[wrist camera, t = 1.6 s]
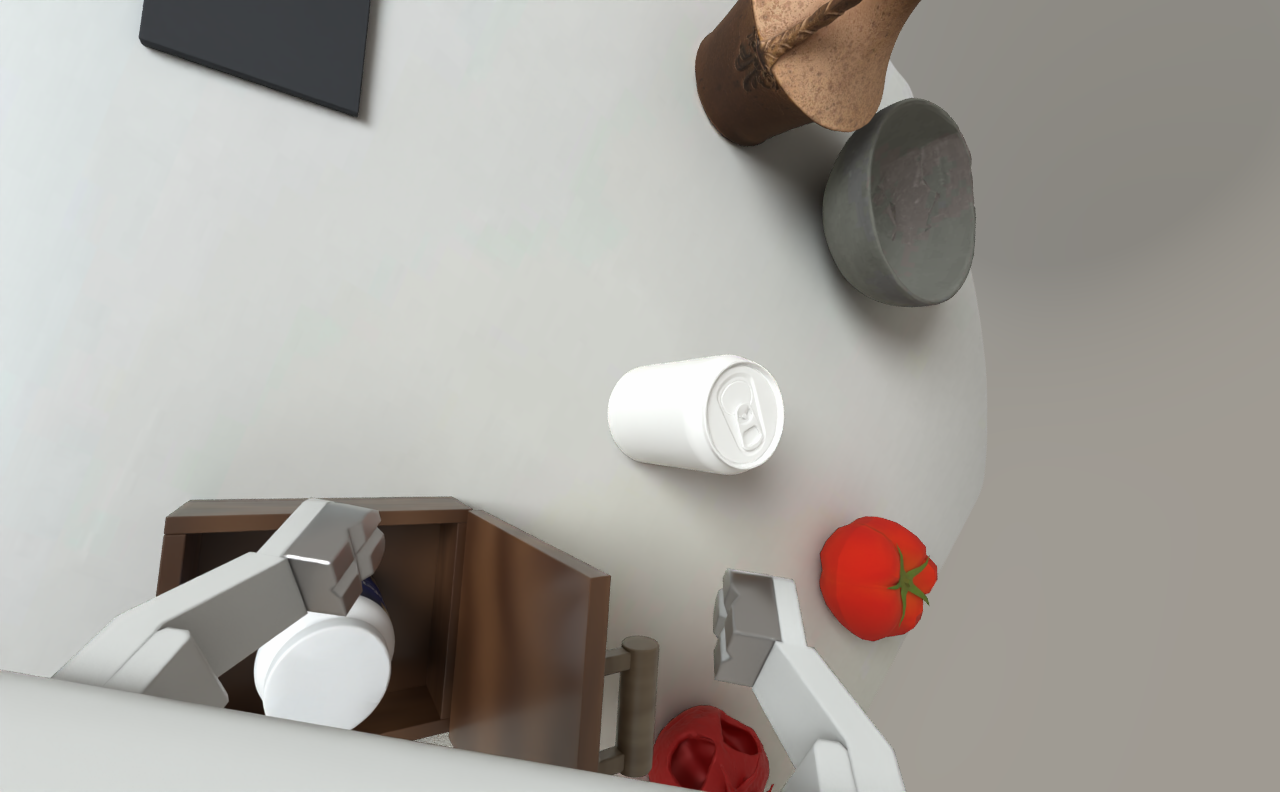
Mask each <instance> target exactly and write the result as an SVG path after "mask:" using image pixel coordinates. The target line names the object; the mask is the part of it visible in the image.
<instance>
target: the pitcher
mask: <svg viewBox="0 0 1280 792" xmlns="http://www.w3.org/2000/svg"><path fill="white" fill-rule="evenodd" d="M920 1H921V0H738V1H737V3H736V4H735V5H734V7H733V8H732V9H731V10H730V12H729V13H728V14H727V15H726V17H725V18H724V19H723V20H722V21H721V22H720V24H719V25H718V26H717V27H716V28H715V29H714V30H713V32H711V33H710V34H709V35H707V36H706V37H705V38H704V40H703V41H702V42H701V44H700V46H699V49H698V51H697V56H696V61H695V72H696V81H697V89H698V94H699V96H700V99H701V102H702V105H703V107H704V109H705V111H706V113H707V115H708V117H709V118H710V120H711V121H712V123H713V125H714V126H715V127H716V128H717V129H718V130H719V131H720V132H721V133H722V134H723V135H724V136H725V137H726V138H727V139H729V140H730V141H732V142H733V143H736V144H738V145H740V146H747V147H748V146H756V145H759V144H761V143H763V142H764V141H765V140H767V139H769V138H771V137H773V136H776V135H778V134H781V133H783V132H786V131H789V130H791V129H794V128H797V127H800V126H803V125H806V124H809V123H812V122H815V123H817V124H819V125H820V126H822V127H824V128H826V129H829V130H833V131H841V132H852V131H855V130H858V129H860V128H862V127H863V126H865V125H866V124H868V123H869V122H870V120H871V119H872V118H873V116H874V115H875V113H876V112H877V109H878V107H879V105H880V102H881V99H882V95H883V90H884V83H885V76H886V71H887V66H888V63H889V59H890V55H891V53H892V50H893V47H894V45H895V42H896V40H897V37H898V35H899V33H900V31H901V29H902V27H903V25H904V24H905V22H906V21H907V19H908V17H909V16H910V14H911V13H912V11H913V10H914V9H915V7H916V6H917V5H918V3H919V2H920Z"/></svg>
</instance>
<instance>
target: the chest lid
mask: <svg viewBox="0 0 1280 792" xmlns="http://www.w3.org/2000/svg"><path fill="white" fill-rule="evenodd" d="M610 581H611V576H610V575H608V574H606V573H604V572H602V571H600V570H598V569H596V568H594V567H592V566H591V565H589V564H587V563H585V562H583V561H581V560H579V559H577V558H575V557H573V556H571V555H569V554H567V553H565V552H563V551H561V550H559V549H557V548H555V547H553V546H551V545H549V544H547V543H545V542H543V541H542V540H540V539H538V538H536V537H534V536H532V535H530V534H528V533H526V532H524V531H522V530H520V529H518V528H516V527H514V526H512V525H510V524H508V523H506V522H504V521H502V520H500V519H498V518H496V517H495V516H493V515H491V514H489V513H487V512H485V511H483V510H470V511H468V517H467V529H466V541H465V552H464V564H463V575H462V587H461V598H460V610H459V621H458V633H457V645H456V656H455V668H454V679H453V691H452V702H451V714H450V725H449V739H450V741H451V743H452V745H453V747H454V748H457V749H463V750H469V751H475V752H480V753H486V754H492V755H498V756H503V757H509V758H515V759H521V760H527V761H532V762H538V763H544V764H550V765H555V766H561V767H567V768H573V769H578V770H584V771H590V772H596V773H602V774H607V775H614V774H617V773H621V774H622V775H624V776H627V777H634V778H635V777H642V776H645V775H646V774H648V773H649V772H650V771H651V769H652V761H653V744H654V727H655V711H656V694H657V677H658V660H659V643H658V642H657V641H656V640H654V639H652V638H649V637H645V636H631V637H627V638H625V639H624V640H623V641H622V647H621V648H616V649H611V650H607V651H606V642H607V627H608V612H609V596H610ZM618 672H620V680H619V696H618V711H617V727H616V742H615V746H614V747H611V748H608V749H605V750H602V751H599V747H600V732H601V717H602V702H603V687H604V676H606V675H610V674H614V673H618Z"/></svg>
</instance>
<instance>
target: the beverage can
mask: <svg viewBox="0 0 1280 792" xmlns="http://www.w3.org/2000/svg"><path fill="white" fill-rule="evenodd" d="M608 424H609V429H610V432H611V435H612V437H613V439H614V441H615V443H616V444H617V446H618V447H619V448H620V450H621V451H622V452H623V453H624V454H626V455H627V456H628V457H630V458H631V459H633V460H636V461H639V462H643V463H650V464H656V465H663V466H669V467H676V468H683V469H689V470H696V471H702V472H709V473H716V474H723V475H735V474H740V473H743V472H745V471H747V470H749V469H753V468H756V467H758V466H760V465H761V464H763V463H764V462H766V461H767V460H768V459H769V458H770V457H771V455H772V454H773V453H774V451H775V450H776V448H777V446H778V444H779V441H780V439H781V436H782V432H783V427H784V403H783V398H782V395H781V391H780V389H779V386H778V384H777V382H776V381H775V379H774V377H773V376H772V375H771V374H770V372H769V371H768V370H767V369H766V368H764V367H763V366H762V365H760V364H758V363H756V362H753V361H750V360H748V359H746V358H743V357H741V356H737V355H719V356H712V357H704V358H697V359H690V360H683V361H676V362H669V363H661V364H654V365H647V366H641V367H637V368H635V369H633V370H631V371H629V372H628V373H626V374H625V375H624V376H623V377H622V378H621V379H620V380H619V381H618V383H617V384H616V386H615V387H614V389H613V391H612V394H611V397H610V400H609V405H608Z"/></svg>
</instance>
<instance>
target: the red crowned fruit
mask: <svg viewBox="0 0 1280 792" xmlns="http://www.w3.org/2000/svg"><path fill="white" fill-rule="evenodd" d="M648 776H649V779H650V782H654V783H659V784H665V785H671V786H677V787H682V788H688V789H694V790H700V791H705V792H763V791H764V788H765V785H766V782H767V780H768V777H769V761H768V757H767V756H766V753H765V751H764V749H763V745H762V743H761V742H760V739H759V738H758V736H757V734H756V733H755V731H754V730H753V729H752V728H750V727H748V726H746V725H744V724H742V723H740V722H739V721H737V720H735V719H733V718H731V717H730V716H728V715H726V714H725V713H724V712H723V711H722V710H720V709H718V708H716V707H713V706H710V705H709V706H708V705H704V706H702V705H700V706H695V707H692V708H690V709H688V710H686V711H684V712H682V713H681V714H679V715H678V716H676V717H675V718H673V719H672V720H671V721H670V722H669V723H668V724H667V725H666V726H665V727H664V728H663V730H662V731H661V732H660V734H659V736H658V738H657V740H656V742H655V744H654V747H653V761H652V769H651V771H650V772H649V773H648ZM773 786H774V784H772V785H771V788H770V790H769V791H767V792H771V790H772V787H773Z"/></svg>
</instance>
